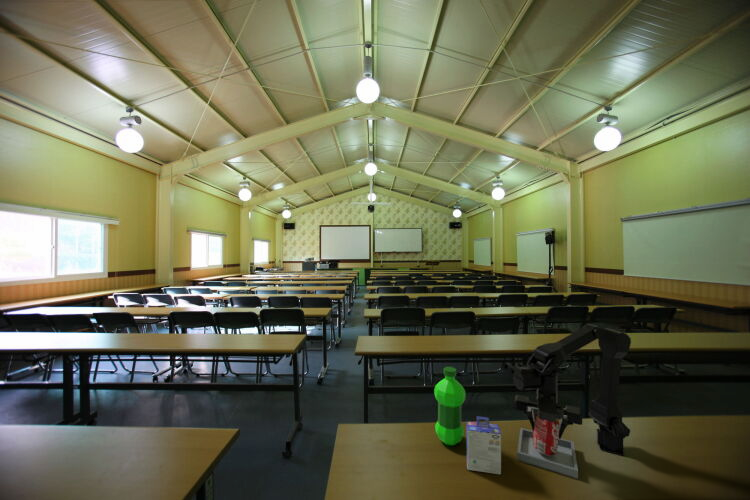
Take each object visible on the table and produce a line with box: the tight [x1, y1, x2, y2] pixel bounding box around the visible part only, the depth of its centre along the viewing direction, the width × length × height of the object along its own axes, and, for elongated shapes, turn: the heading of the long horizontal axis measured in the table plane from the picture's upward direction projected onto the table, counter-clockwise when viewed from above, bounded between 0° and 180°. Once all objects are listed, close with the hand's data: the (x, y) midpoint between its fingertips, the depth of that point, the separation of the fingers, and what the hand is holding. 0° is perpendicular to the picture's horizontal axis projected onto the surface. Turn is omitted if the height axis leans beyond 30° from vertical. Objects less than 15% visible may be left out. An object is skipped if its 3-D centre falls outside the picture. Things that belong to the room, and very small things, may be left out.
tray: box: [516, 427, 579, 480], centre depth 98 cm, size 16×15×2 cm
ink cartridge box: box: [466, 415, 502, 475], centre depth 93 cm, size 10×6×14 cm, turn 78°
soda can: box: [533, 412, 560, 456], centre depth 98 cm, size 7×7×12 cm
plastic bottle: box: [433, 366, 467, 446], centre depth 105 cm, size 10×10×25 cm
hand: (546, 434), depth 98 cm, fingers open, 7 cm apart
